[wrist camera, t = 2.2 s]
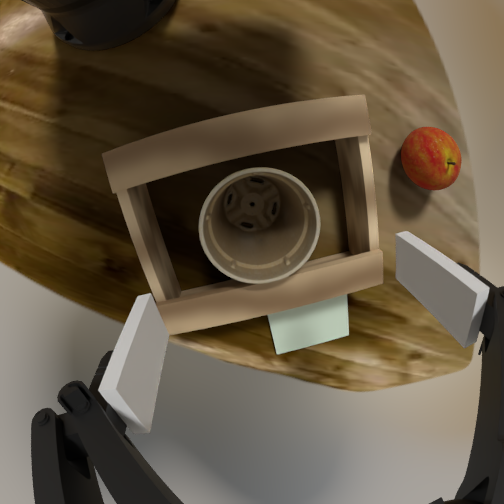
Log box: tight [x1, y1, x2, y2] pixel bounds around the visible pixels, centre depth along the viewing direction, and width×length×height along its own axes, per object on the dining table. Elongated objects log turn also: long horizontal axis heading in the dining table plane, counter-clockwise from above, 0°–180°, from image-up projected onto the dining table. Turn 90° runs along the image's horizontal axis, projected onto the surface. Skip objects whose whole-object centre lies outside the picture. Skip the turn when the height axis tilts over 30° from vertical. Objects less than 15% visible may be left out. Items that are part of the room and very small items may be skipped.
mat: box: [268, 294, 349, 354], centre depth 36 cm, size 10×10×1 cm
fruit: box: [401, 127, 461, 190], centre depth 26 cm, size 7×7×8 cm
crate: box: [102, 95, 383, 335], centre depth 27 cm, size 18×22×7 cm
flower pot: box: [199, 167, 320, 284], centre depth 27 cm, size 9×9×9 cm
